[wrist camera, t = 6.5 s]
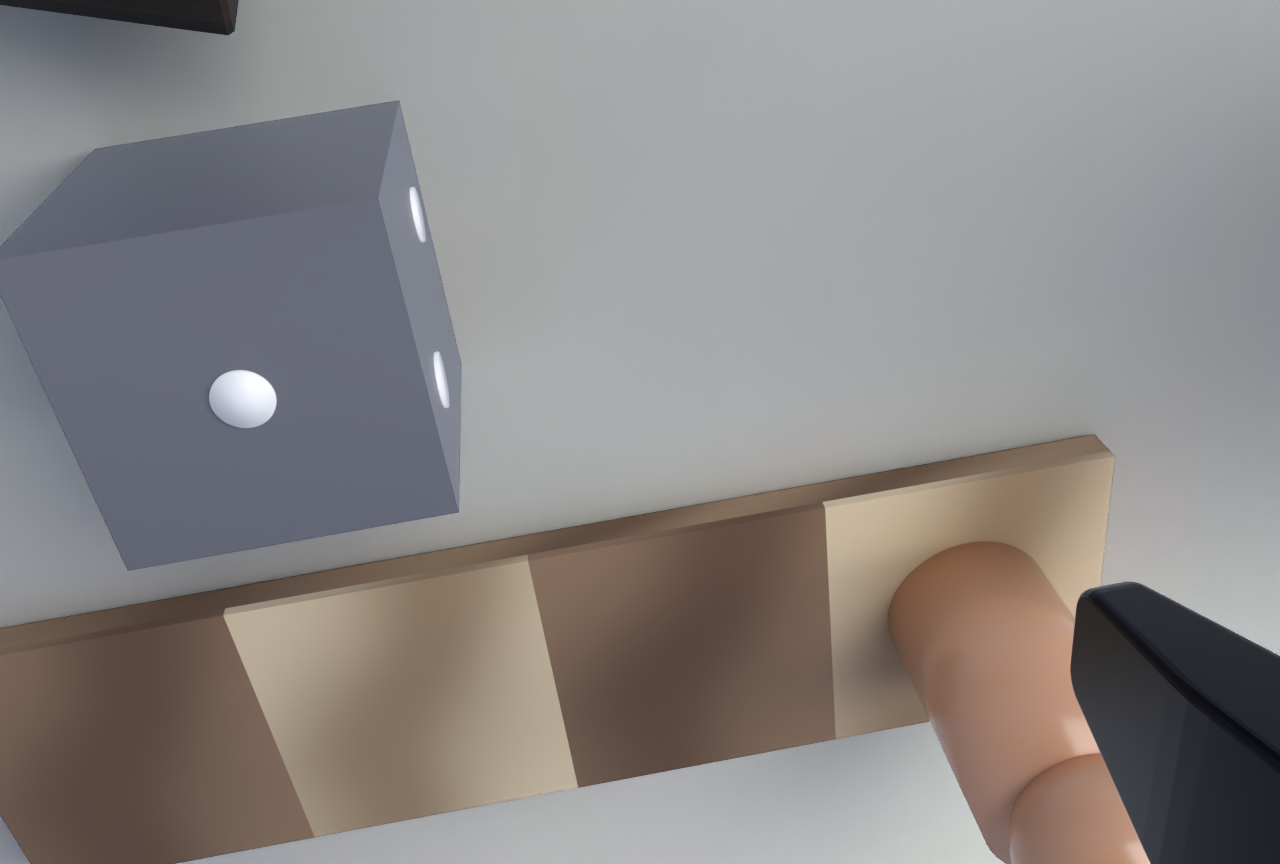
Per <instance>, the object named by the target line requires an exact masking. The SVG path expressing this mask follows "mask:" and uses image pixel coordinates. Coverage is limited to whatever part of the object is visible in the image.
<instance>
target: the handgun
mask: <svg viewBox="0 0 1280 864" xmlns="http://www.w3.org/2000/svg"><path fill="white" fill-rule="evenodd" d="M0 5H6V6H14V7H21V8H28V9H36V10H43V11H51V12H58V13H66V14H73V15H81V16H88V17H96V18H103V19H110V20H118V21H125V22H133V23H140V24H148V25H155V26H163V27H170V28H178V29H185V30H192V31H200V32H207V33H215V34H223V35H229V34H231V33H232V32H234V30H235V23H236V15H237V8H238V0H0Z"/></svg>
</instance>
